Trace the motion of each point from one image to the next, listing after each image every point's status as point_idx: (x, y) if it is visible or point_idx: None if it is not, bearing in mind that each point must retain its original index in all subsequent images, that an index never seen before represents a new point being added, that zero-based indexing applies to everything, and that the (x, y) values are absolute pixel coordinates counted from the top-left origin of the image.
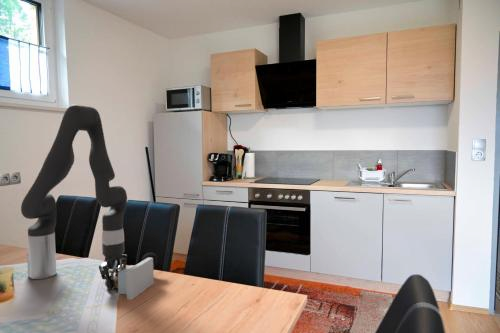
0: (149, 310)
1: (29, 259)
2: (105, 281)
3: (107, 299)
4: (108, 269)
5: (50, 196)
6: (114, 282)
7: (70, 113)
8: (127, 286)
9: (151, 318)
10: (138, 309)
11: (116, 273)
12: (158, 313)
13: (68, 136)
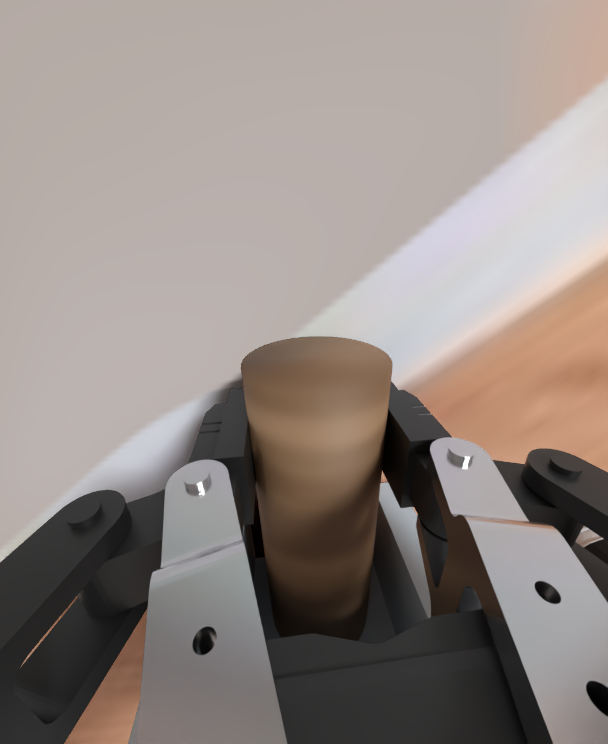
0: (128, 707)
1: None
2: (245, 377)
3: (95, 491)
4: (241, 627)
5: None
6: (258, 493)
7: None
8: (136, 725)
9: (75, 739)
10: (106, 679)
11: (422, 465)
12: (127, 734)
13: None
